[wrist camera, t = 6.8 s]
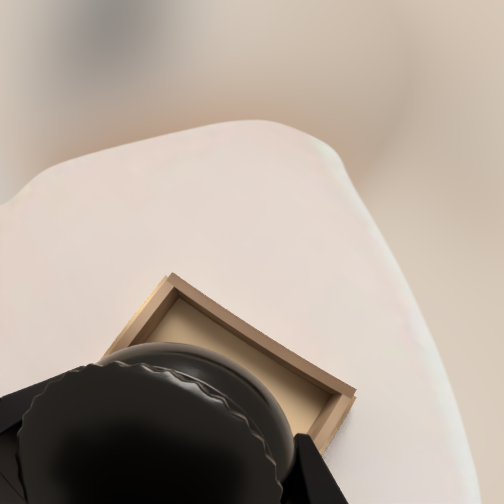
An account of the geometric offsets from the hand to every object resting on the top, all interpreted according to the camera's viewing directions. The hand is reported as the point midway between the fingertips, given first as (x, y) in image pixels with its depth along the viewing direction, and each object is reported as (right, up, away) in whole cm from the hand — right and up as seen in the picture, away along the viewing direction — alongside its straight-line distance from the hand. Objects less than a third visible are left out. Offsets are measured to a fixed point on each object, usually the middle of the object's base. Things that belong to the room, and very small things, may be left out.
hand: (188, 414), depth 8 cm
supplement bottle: (-1, -4, +6) cm, 7 cm away
